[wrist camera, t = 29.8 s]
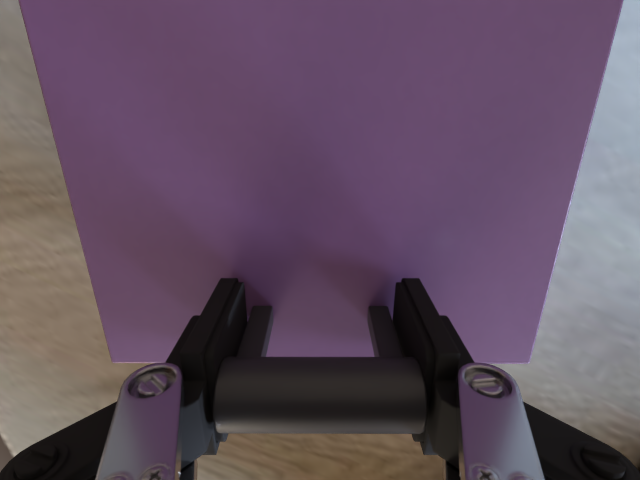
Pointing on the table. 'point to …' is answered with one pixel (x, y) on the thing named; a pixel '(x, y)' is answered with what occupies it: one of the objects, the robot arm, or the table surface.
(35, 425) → the table surface
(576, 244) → the table surface
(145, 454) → the robot arm
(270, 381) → the lid
